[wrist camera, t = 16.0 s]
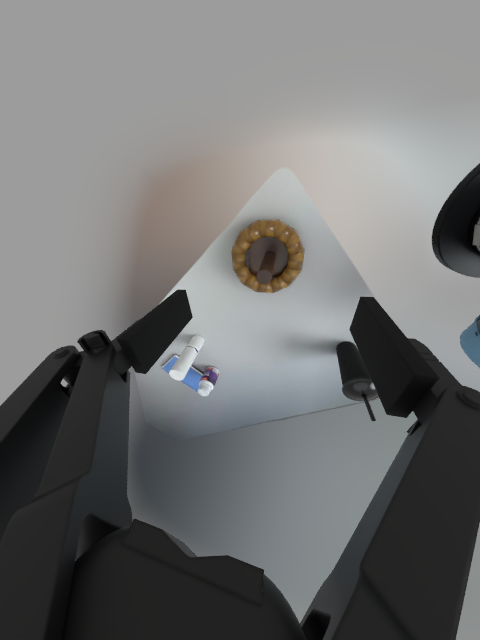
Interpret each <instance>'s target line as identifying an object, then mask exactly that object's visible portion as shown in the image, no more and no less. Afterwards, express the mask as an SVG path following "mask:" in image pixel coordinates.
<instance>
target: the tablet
mask: <svg viewBox="0 0 480 640" xmlns="http://www.w3.org/2000/svg"><path fill="white" fill-rule="evenodd" d="M178 358H179V357H178V356H177V355H174V356H173V357H172V358H171V359H170V360H169V361H168V362H167V363H166V364H165V365H164V366H163V367H162V369H163V370H165V371H166V372H168V373H169V372H170V370H171V369H172V367H173V366H174V364H175V363H176V361H177V360H178ZM202 376H203V374H202V373H201V372H199V371H198V370H197V369H195V368H194V367H192V366H191V367H190V368H189V370H188V372H187V374H186V375H185V377H184V379H183V380H180V381H181V382H183V383H184V384H186V385H187V386H189V387H190V388H192V389H193V390H195V391H196V392H198V389H199V382H200V380H201V378H202Z"/></svg>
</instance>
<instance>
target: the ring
mask: <svg viewBox="0 0 480 640" xmlns="http://www.w3.org/2000/svg"><path fill="white" fill-rule="evenodd" d="M260 237H274V238H276V239H277V240H279V241H280V242H282V243H284V245H285V248H286V250H287V252H288V254H289V256H288V265H287V267H286V268H285V270H284V271H283V273H282V274H281V275H280V276H278V277H276V278H273V279H272V280H271V282H270V283H268V284H261V283H259V282H258V281H257V278H256V276H254V275H253V274H251V272H250V271H249V269H248V267H247V265H246V252H247V250H248V248H249V246H250V244H251V243H253V242H254V241H256V240H257V239H259V238H260ZM303 258H304V248H303V245H302V243H301V241H300V238H299V236H298V234H297V232H296V231H295V230H294V229H293V228H291V227H289V226H288V225H286V224H285V223H283V222H282V221H280V220H257V221H255V222H254V223H252V224H251V225H250V226H248V227H247V228H245V229H244V230H242V231H241V232H240V233H239V235H238V238H237V240H236V242H235V244H234V246H233V248H232V263H233V270H234V271H235V273H236V275H237V276H238V278H239V279H240V281H241V283H242V284H244V285H245V286H247V287H249V288H251V289H252V290H254V291H256V292H265V293H274V292H277V291H279V290H281V289H283V288H286V287H288V286H290V285H291V283H292V282H293V281H294V280H295V278H296V277H297V276H298V274H299V273H300V272H301V270H302V264H303Z"/></svg>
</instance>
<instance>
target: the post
mask: <svg viewBox="0 0 480 640" xmlns="http://www.w3.org/2000/svg"><path fill="white" fill-rule="evenodd" d="M288 256H289V254H288V252H287V250H286V248H285V245H284V243H282V242H280V241H279V240H277V239H276V238H274V237H260V238H259V239H257V240H256V241H254V242H253V243H251V244H250V272H251V274H253V275H254V276H256V278H257V281H258V282H259V283H261V284H268V283H270V282H271V280H272V277H278V276H280V275H281V274H282V273H283V271H284V270H285V268H286V267H287V265H288Z"/></svg>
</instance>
